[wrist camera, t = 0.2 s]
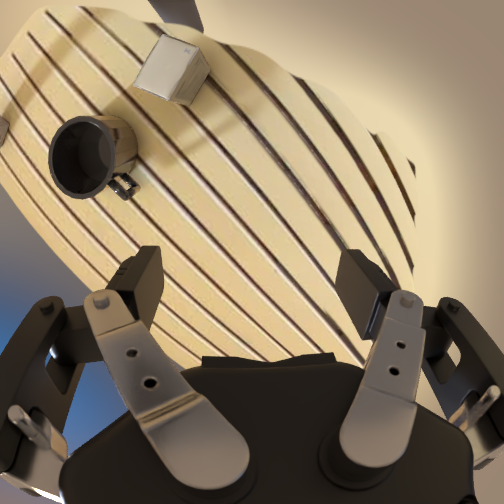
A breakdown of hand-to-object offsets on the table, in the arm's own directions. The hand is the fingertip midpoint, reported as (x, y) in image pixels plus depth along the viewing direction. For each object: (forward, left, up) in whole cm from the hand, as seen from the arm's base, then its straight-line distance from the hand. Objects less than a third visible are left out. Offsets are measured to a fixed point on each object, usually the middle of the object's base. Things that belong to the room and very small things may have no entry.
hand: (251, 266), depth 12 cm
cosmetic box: (-12, -8, -28) cm, 32 cm away
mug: (-2, -19, -28) cm, 34 cm away
